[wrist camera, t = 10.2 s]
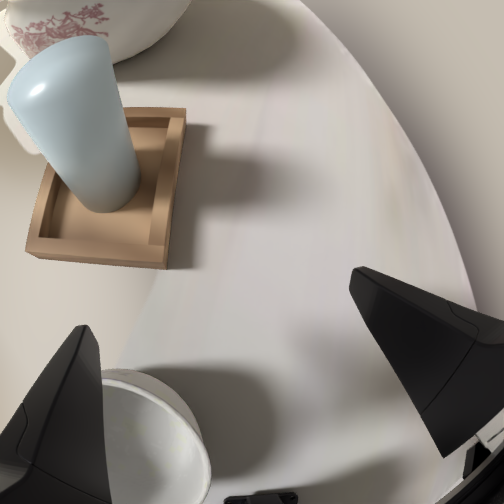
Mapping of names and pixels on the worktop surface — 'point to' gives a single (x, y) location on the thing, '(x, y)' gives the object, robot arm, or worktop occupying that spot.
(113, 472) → the teacup
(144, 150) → the tray
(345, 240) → the worktop surface
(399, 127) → the worktop surface
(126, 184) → the pale blue rounded cylinder
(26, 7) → the chamber pot
